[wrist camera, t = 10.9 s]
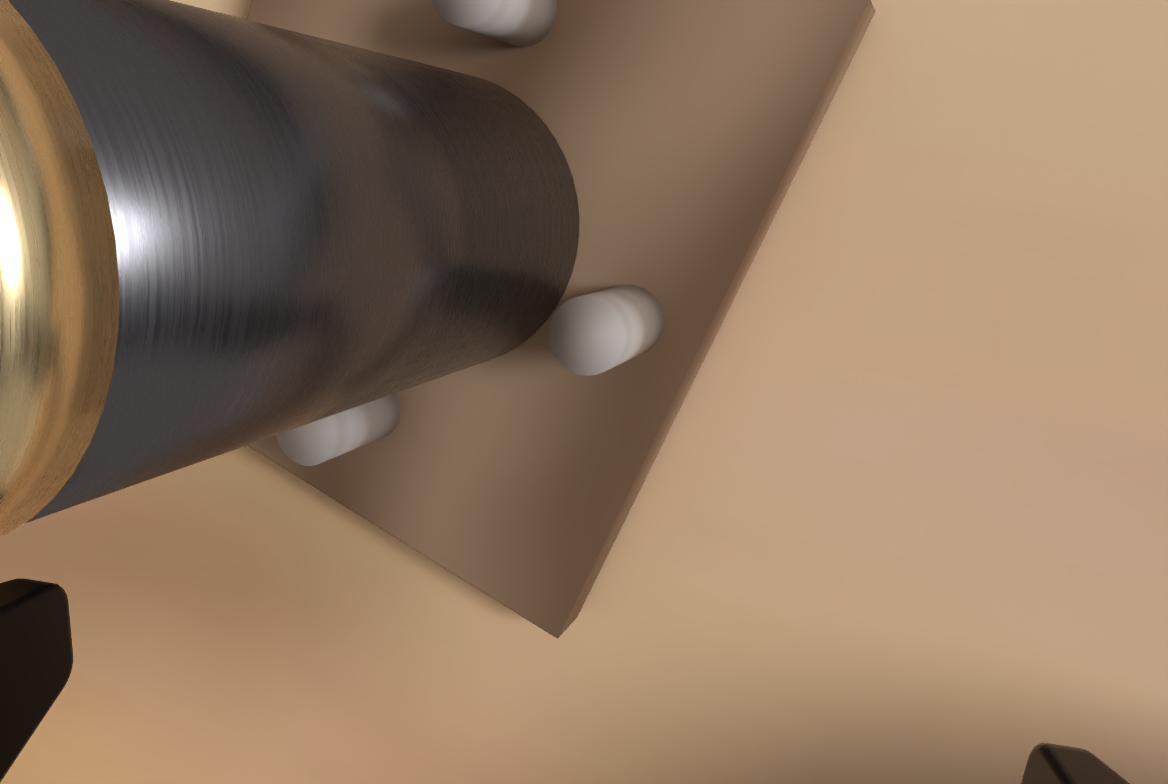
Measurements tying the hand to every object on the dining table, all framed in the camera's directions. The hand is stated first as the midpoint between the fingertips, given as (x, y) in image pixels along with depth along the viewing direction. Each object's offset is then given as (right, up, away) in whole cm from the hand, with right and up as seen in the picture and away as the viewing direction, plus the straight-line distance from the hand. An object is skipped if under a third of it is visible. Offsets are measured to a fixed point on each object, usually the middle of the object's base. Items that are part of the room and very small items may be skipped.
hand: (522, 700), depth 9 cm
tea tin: (-2, +6, +12) cm, 13 cm away
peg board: (-2, +7, +13) cm, 14 cm away
